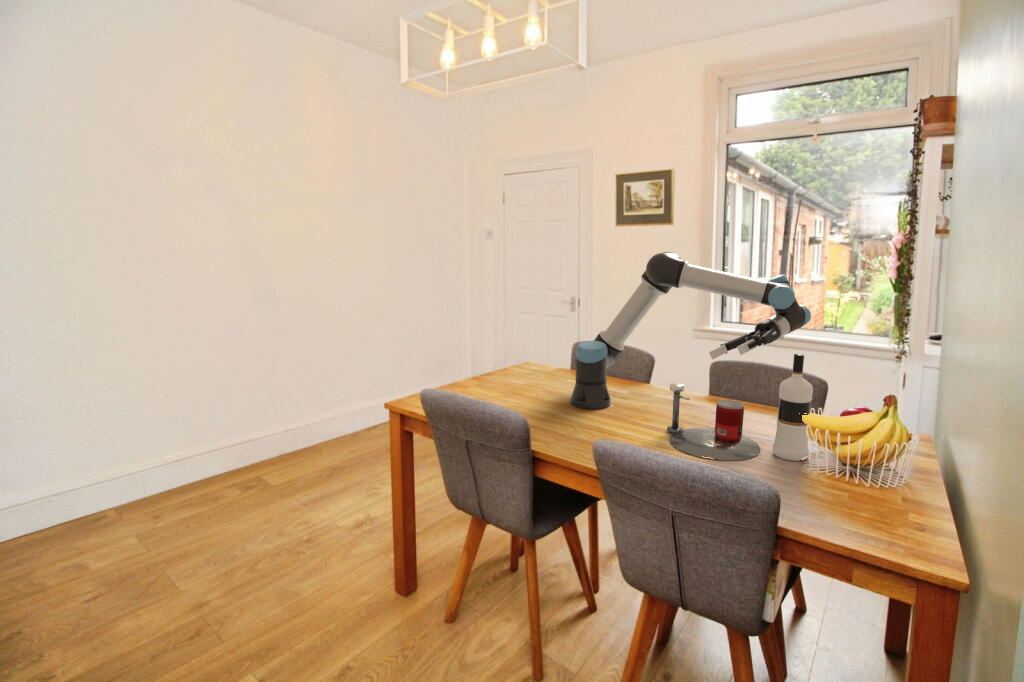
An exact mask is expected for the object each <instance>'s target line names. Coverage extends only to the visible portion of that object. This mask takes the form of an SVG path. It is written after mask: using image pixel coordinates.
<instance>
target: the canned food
mask: <svg viewBox="0 0 1024 682" xmlns="http://www.w3.org/2000/svg"><path fill="white" fill-rule="evenodd" d="M744 413H745V404H744V403H742V402H740V401H736V400H727V399H721V400H718V401H716V407H715V421H714V422H715V423H714V429H715V436H716V437H717V438H719V439H722V440H726V441H738V440H740V439H741V437H742V435H743V427H744V426H743V425H744V416H745V415H744Z"/></svg>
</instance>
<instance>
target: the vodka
mask: <svg viewBox="0 0 1024 682" xmlns="http://www.w3.org/2000/svg"><path fill="white" fill-rule="evenodd" d="M804 361H805V355H804V354H803V353H802V354H801V353H794V354H793V363H792V364H793V365H792V374H791V376H790V377H788V378H786V379H784V380H782V381H781V382H780V384H779V394H778V397H779V399H778V410H777V419H776V421H775V422H776V430H775V437H774V442H773V444H772V449H771V450H772V453H773V455H774V456H776V457H777V458H779V459H782V460H785V461H790V462H801V461H800V460H801V459H802V458H804V457H806V456H808V454H809V453H810V451H809V436H808V437H807V435H806V428H807V425H806V424H805V423H804V422H803V421H802V415H808V414H811V405H812V401H813V393H814V387H813V385H812V384H811V383H810V382H809V381H808V380H807V379H805V378H804V375H803V372H804ZM799 413H800V414H799ZM804 413H807V414H804ZM809 455H810V454H809ZM808 457H809V456H808Z"/></svg>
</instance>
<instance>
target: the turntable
mask: <svg viewBox="0 0 1024 682" xmlns="http://www.w3.org/2000/svg"><path fill="white" fill-rule="evenodd" d="M669 440H670V441H669V443H670V442H671V443H670V444H671V446H672V447H674V446H675V447H676V448H678V449H679V450H678V449H677V450H678V451H680V450H682V451H684V452H686V453H685V454H687V453H688V454H687V455H690V454H691V455H690V456H693V455H695V456H694V457H696V456H700V457H702V456H704V457H711V458H713V459H718V460H717V461H721V460H723V461H726V462H737V461H744V460H745V461H746V460H750V459H753V458H755V457H757V456H758V455H759V454H760V453H761V447H760V445H759V444H758V443H757V442H756V441H754V440H753V439H751V438H750V437H747V436H745V435H743V434H742V437H741V439H740V440H738V441H726V440H722V439H719V438H717V437H716V436H715V428H704V427H703V428H700V427H699V428H697V427H695V428H693V427H692V428H686V429H683V432H682V433H673V434H672V433H671V434H670V436H669ZM675 447H674V448H675ZM676 448H675V449H676ZM682 451H681V452H682ZM684 452H683V453H684ZM700 457H699V458H700ZM723 461H722V462H723Z"/></svg>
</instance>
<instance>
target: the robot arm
mask: <svg viewBox="0 0 1024 682" xmlns="http://www.w3.org/2000/svg"><path fill="white" fill-rule="evenodd" d="M640 279H641V282H640V284H639V285H638V286H637V288H636V289H635V291H634V292H633V294H632V295H631V296H630V298H629V299H628V300H627V301H626V303H625V304H624V305H623V307H621V309H620V311H619V312H618V314H616V316H615V317H614V319H613V320H612V321H611V323H610V324H609V326H608V327H607V328H606V329H605V330H601V331H600V332H599V333H598V334H597V335H596V337H595V338H594V339H593V340H588V341H587V340H586V341H583V342H580V343H578V344H577V346H576V348H575V384H574V386H573V390H572V393H571V396H570V404H571V405H572V406H574V407H576V408H579V409H585V410H601V409H606V408H608V407H610V406H611V396H610V393H609V389H608V386H607V375H608V373H607V370H608V369H609V368H611V366H614V364H615V363H616V362H617V360H618V358H619V357H620V355H621V354H622V352H623V351H624V349H625V346H624V344H625V342H626V341H627V339H628V338H629V337H630V335H632V333H633V331H634V330H635V329H636V328H637V327H638V325H639V324H640V322H642V320H643V319H644V317H645V316H646V315H647V313H649V311H650V310H651V308H652V307H653V306H654V304H655V303H656V302H657V301H658V299H659V298H660V296H663V295H667V294H668V293H669V292H670V290H671V289H672V288H676V289H681V288H683V287H685V288H689V289H695V290H699V291H703V292H707V293H712V294H715V295H716V294H717V295H720V296H725V297H731V298H735V299H738V300H743V301H747V302H752V303H756V304H761V305H764V306H770V307H772V308H773V310H774V312H775V315H772V316H770V317H768V318H767V319H765V320H763V321H761V322H758V323H757V324H756V325H755V328H754V331H750V332H749V333H745V334H743V335H741V336H739V337H737V338H733V339H731V340H729V341H727V342H724V343H722V344H719V346H718V347H716V348H714V349H712V350H710V351H709V352H708V353H709V355H710V357H711V359H712V360H715V359H717V358H719V357H721V356H723V355H725V354H728V352H729V351H732V350H734V349H738V350H737V351H738V353H739V355H740V356H741V355H745V354H746V353H748V352H750V351H752V350H754V349H756V348H757V347H761V346H762V345H763V346H764V345H768V344H769V345H770V344H772V343H773V342H775V341H777V340H778V339H784V336H788V335H789V334H791V333H793V332H794V331H797V330H798V329H802V328H803V327H804V326H806V325H807V324H808V323H809V322H810V321H811V318H812V315H811V314H812V313H811V311H810V309H809V308H807V306H806V305H804V304H801V303H800V304H799V302H798V300H797V299H796V294H795V290H794V289H793V288H792V286H791V284H790V281H789V279H788V278H787V275H785V274H780V275H777V276H773V277H771V278H769V279H767V280H762V279H759V278H753V277H749V276H743V275H739V274H734V273H731V272H727V271H726V272H724V271H720V270H715V269H713V268H707V267H702V266H698V265H693V264H690V263H689V262H688V260H683V259H682V257H681V256H679V255H678V254H676V253H675V252H672V251H665V252H660V253H656V254H654V255H652V256H651V257H650V258H649V259H648V261H647V263H646V266H645V270H644V271H643V273H642V275H641V276H640Z"/></svg>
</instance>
